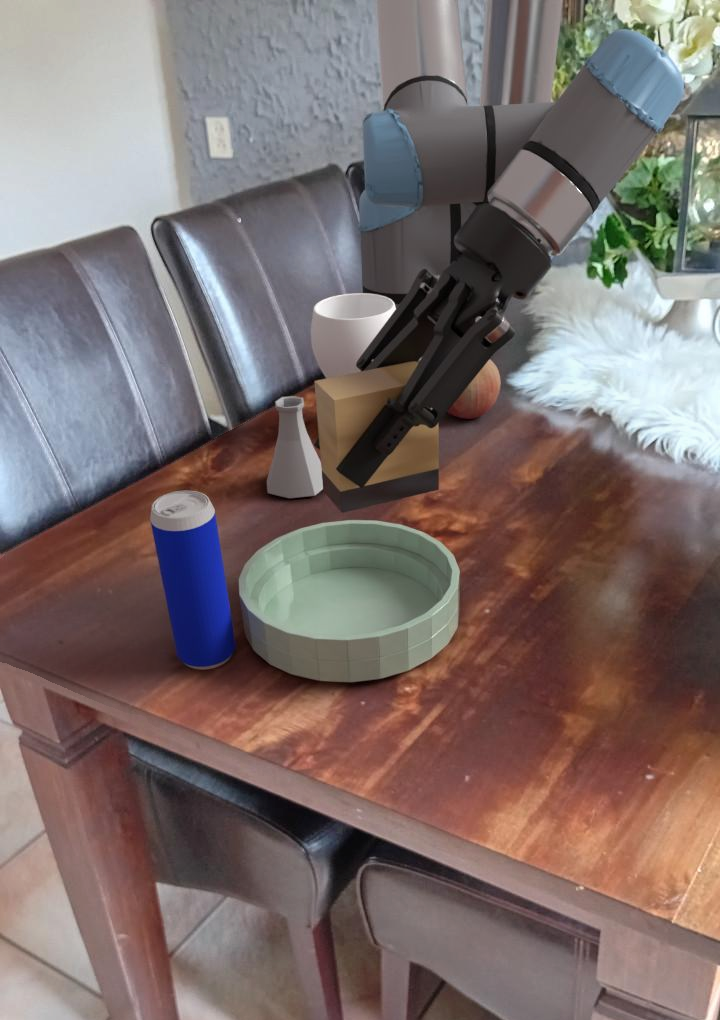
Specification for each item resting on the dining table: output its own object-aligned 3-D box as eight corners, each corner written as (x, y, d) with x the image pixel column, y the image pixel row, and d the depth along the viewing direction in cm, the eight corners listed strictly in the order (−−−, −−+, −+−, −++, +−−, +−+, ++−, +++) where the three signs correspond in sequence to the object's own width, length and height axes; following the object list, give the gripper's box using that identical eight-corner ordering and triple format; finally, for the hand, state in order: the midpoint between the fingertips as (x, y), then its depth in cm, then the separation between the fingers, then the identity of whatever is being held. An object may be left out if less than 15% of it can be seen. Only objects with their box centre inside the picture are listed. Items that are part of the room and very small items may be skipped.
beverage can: (212, 630, 91) (187, 482, 82) (248, 653, 88) (226, 501, 79) (166, 656, 88) (135, 505, 80) (201, 680, 85) (173, 526, 76)
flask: (321, 502, 110) (314, 416, 104) (257, 498, 111) (247, 414, 105) (335, 472, 116) (329, 389, 110) (275, 469, 117) (266, 387, 111)
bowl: (270, 561, 100) (264, 517, 97) (464, 567, 98) (465, 522, 95) (222, 682, 85) (214, 634, 82) (451, 693, 82) (451, 644, 79)
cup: (304, 438, 123) (293, 317, 114) (338, 405, 131) (330, 288, 122) (385, 449, 120) (380, 324, 111) (414, 413, 128) (412, 294, 119)
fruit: (455, 432, 123) (455, 369, 118) (423, 410, 128) (422, 349, 124) (510, 418, 125) (513, 355, 120) (477, 396, 131) (478, 336, 126)
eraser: (417, 468, 90) (414, 360, 84) (439, 489, 86) (438, 378, 80) (323, 491, 87) (314, 380, 81) (341, 513, 84) (333, 400, 78)
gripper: (608, 288, 74) (410, 533, 79) (494, 236, 88) (331, 448, 93) (550, 223, 70) (344, 488, 75) (439, 178, 83) (271, 405, 88)
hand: (337, 465), depth 84 cm, fingers closed on eraser, 4 cm apart
